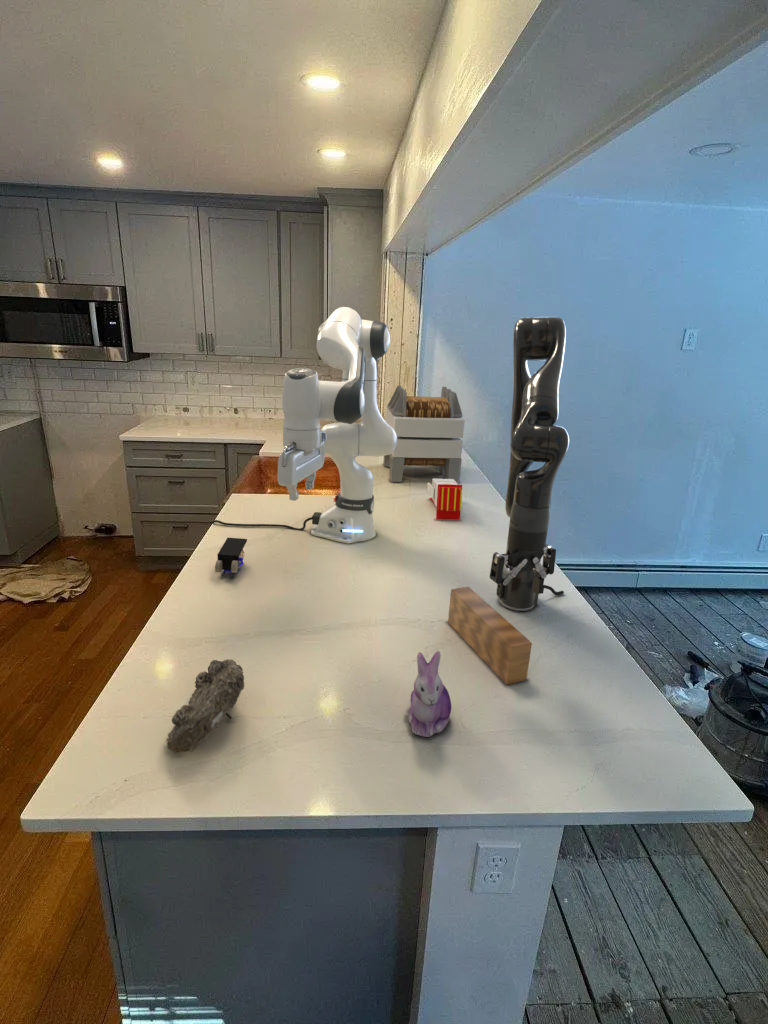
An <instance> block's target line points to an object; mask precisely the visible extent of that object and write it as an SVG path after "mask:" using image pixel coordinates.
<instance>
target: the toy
mask: <svg viewBox="0 0 768 1024" xmlns="http://www.w3.org/2000/svg"><path fill="white" fill-rule="evenodd" d="M431 480H432V481H431V483H430V482H427V487H426V493H427V495H429V500H430V501H431V502H432V503H433V504H434V506H435V508H436V510H435V511H436V513H435V520H442V521H443V520H445V521H447V520H448V521H461V511H462V502H463V501H462V500H463V499H462V498H463V484H459V483H457V482H456V481H455V480H454V479H445V478H432V479H431Z"/></svg>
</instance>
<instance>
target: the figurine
mask: <svg viewBox="0 0 768 1024" xmlns="http://www.w3.org/2000/svg"><path fill="white" fill-rule="evenodd" d="M440 662H441V652H440V651H439V650H437V651H435V652H434V653H433V654H432V657H431V659H430V661H429V662H427V659H426V658H425V656H424V654H423V653H422V652H418V653H417V656H416V664H417V675H416V678H415V679H414V682H413V690H412V691H411V694H410V698H409V699H410V701H409V702H410V707H409V711H408V716H407V717H408V719H407V720H408V723H409V725H410V727H411V732H412V734H414V735H416V736H421V737H425V738H428V737H429V738H430V737H433V736H434V734H439V733H441V732H442V731H444V729H445V728H446V727H447V725H448V724H449V720H450V716H451V713H452V701H451V697H450V693H449V691H448V689H447V688H446V686H445V684H444V683H443V681H442V678H441V676H440V674H439V667H440Z"/></svg>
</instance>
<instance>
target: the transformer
mask: <svg viewBox="0 0 768 1024" xmlns="http://www.w3.org/2000/svg"><path fill="white" fill-rule="evenodd" d="M440 393H441V394H440V396H415V395H414V396H413V395H412V396H411V395H407V394H408V393H407V390H406V389H404V388H403V387H402V385H399V384H398V385H397V386H396V388H395V390H394V392H393V394H392V395H391V398H390V400H389V402H388V404H387V405H386V413H385V414H386V415H385V421H386V422H387V423H388V424H389V425H390V426H391V427H392V428H393V429H394V430H395V432H396V435H397V445H396V448H395V450H394V451H393V452H392V453H391V454H389V455H385V456H383V466H384V467H388V468H389V475H388V476H389V477H388V478H389V480H390V482H391V483H402V482H403V475H404V469H405V466H406V467H407V466H411V467H412V466H413V467H415V466H416V467H417V466H418V467H436V468H437V470H438V469H439V473H440V474H441V475H443V479H454V480H455V481H456V482H457V483H458V484H459V483H461V472H462V461H463V460H462V453H463V442H464V441H463V440H462V439H463V438H464V431H465V430H464V429H465V419H464V418H463V411H462V408H461V405H460V402H459V398H458V395H457V392H455V391H453V390H452V389H451V388H447V386H442V387H441V392H440Z"/></svg>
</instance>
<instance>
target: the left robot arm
mask: <svg viewBox="0 0 768 1024" xmlns="http://www.w3.org/2000/svg"><path fill="white" fill-rule="evenodd" d="M316 337H317V338H316V351H317V354H318V356H319V358H320V359H321V360H322V362H324V364H326V365H327V366H329V367H330V368H333V369H336V370H339V371H342V375H341V376H342V377H341V378H342V379H341V381H331V380H320V379H319V374H318V372H317V371H316V370H315V369H312V368H308V367H297V368H292V369H289V370H288V371H286V372H285V374H284V377H283V383H282V384H283V385H282V395H281V397H282V398H281V399H282V400H281V403H282V404H281V406H282V407H281V408H282V412H283V421H282V446H283V451H282V452H281V453H280V454H279V456H278V459H277V460H278V461H277V475H276V476H277V477H276V479H277V484H278V485H279V486H281V487H286V490H287V492H288V494H289V495H288V497H289V498H288V499H289V500H290V501H293V502H295V501H297V500H299V494H300V493H299V491H298V489H297V487H298V483H301V482H302V481H303V480H305V479H306V481H305V482H304V485H305V489H306V490H312V489H314V488H315V480H316V478H317V477H316V476H317V471H319V470H320V469H322V468H323V467H324V463H325V456H328V457H329V458H330V459H331V460H332V461H333V462H334V464H335V465H336V467H337V470H338V474H339V483H340V484H339V485H340V488H339V489H340V490H339V491H338V492H337V494H336V495H335V496H334V497H333V502H334V504H333V505H331V506H329V507H328V508H326V509H325V510H323V512H319V511H318V512H317V511H315V512H313V514H312V516H310V517H308V518H306V519H305V520H304V521H303V523H302V527H301V528H297V527H294V526H291V525H287V524H277V523H275V524H274V523H233V522H232V523H231V522H224V521H222V520H218V519H214V520H212V521H211V522H210V525H213V524H216V523H218V524H220V525H223V526H232V527H274V528H275V527H276V528H287V529H291V530H294V531H295V530H296V531H303V530H305V529H306V524H307V523H308V522H309V521H311V525H313V526H312V528H311V530H310V533H311V536H315V537H319V538H323V539H326V540H330V541H336V542H339V543H343V544H352V543H357V542H365V541H368V540H372V539H373V538H375V537H376V535H377V532H376V528H375V523H374V513H373V512H374V509H375V496H374V474H373V472H372V471H371V469H369V468H368V467H366V466H364V465H362V464H360V463H359V462H358V461H357V460H356V458H357V457H369V458H370V457H371V458H372V457H373V458H375V457H376V458H378V457H384V456H385V455H389V454H391V453H392V452H393V451H394V450H395V448H396V445H397V435H396V432H395V430H394V429H393V428H392V427H391V426H390V425H389V424H388V423H387V422H386V419H384V417H383V416H382V414H381V412H380V409H379V406H378V398H377V397H378V394H377V389H378V387H377V385H378V384H377V383H378V382H377V380H378V372H377V370H378V369H377V368H378V367H377V361H379V359H380V358H382V357H384V355H386V354H387V352H388V350H389V347H390V343H391V335H390V331H389V327H388V325H387V324H386V323H385V322H384V321H380V320H376V319H374V320H369V319H362V317H361V316H360V314H359V313H358V312H357V310H355V309H353V308H351V307H348V306H340V307H338V308H336V309H335V310H334V311H333V312H332V313H330V314H329V316H328V317H327V319H326V320H325V321H323V322H322V323H321V324H320V325H319V327H318V330H317V336H316ZM358 420H360V422H357V421H358ZM320 421H328V422H333V423H328V424H325V425H323V427H321V423H320Z"/></svg>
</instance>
